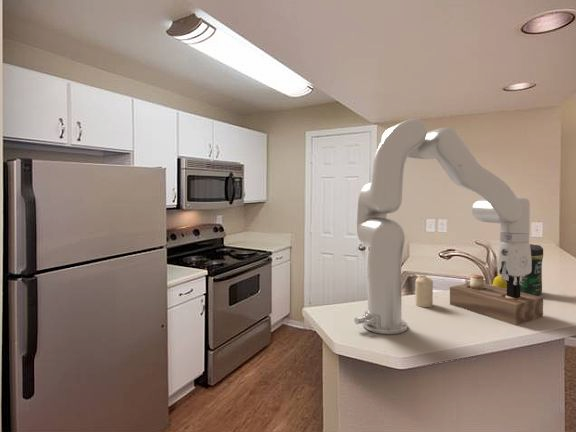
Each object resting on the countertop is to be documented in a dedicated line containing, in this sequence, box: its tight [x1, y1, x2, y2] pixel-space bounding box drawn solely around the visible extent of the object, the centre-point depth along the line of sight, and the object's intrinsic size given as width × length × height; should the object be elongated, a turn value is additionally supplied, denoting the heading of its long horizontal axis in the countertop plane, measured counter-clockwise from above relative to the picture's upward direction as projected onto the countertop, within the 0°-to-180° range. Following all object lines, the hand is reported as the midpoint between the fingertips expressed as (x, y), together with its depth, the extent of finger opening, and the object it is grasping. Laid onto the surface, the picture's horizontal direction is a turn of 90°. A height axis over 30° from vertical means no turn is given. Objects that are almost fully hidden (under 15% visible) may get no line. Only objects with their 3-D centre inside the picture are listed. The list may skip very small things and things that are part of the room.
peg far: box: [469, 274, 485, 290], centre depth 119 cm, size 4×4×6 cm
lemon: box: [492, 274, 507, 289], centre depth 128 cm, size 6×6×8 cm
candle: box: [415, 275, 434, 308], centre depth 120 cm, size 6×6×10 cm
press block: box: [449, 282, 544, 326], centre depth 113 cm, size 14×22×6 cm, turn 27°
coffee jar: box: [519, 243, 544, 296], centre depth 130 cm, size 10×8×19 cm
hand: (513, 296), depth 108 cm, fingers closed
